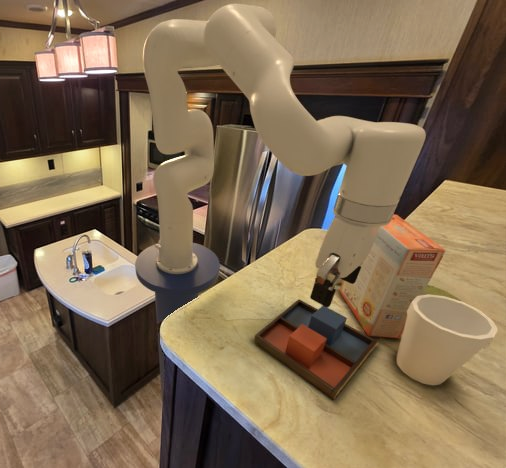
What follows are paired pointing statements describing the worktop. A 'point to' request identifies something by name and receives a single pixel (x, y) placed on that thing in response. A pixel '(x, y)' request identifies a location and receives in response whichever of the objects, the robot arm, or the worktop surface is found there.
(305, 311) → the sorting tray
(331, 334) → the slate-blue block
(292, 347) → the terracotta block
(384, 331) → the cracker box
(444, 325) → the foam cup
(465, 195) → the worktop surface
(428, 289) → the mat
